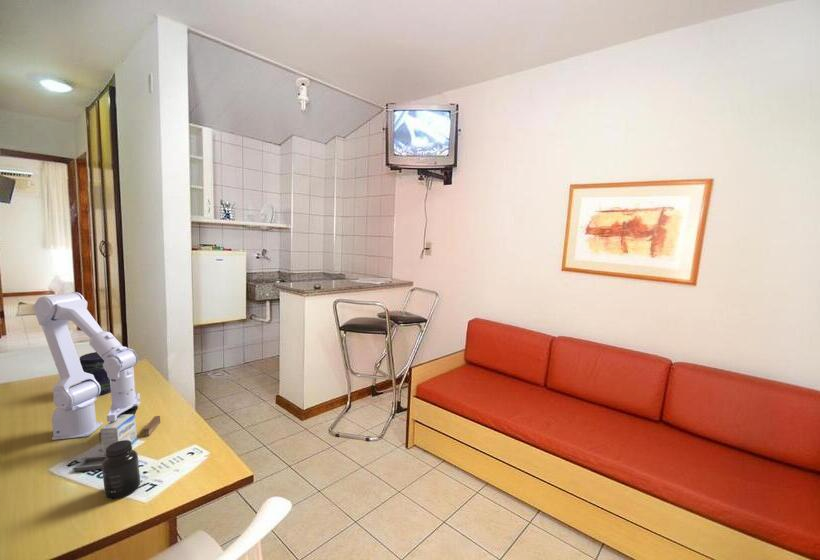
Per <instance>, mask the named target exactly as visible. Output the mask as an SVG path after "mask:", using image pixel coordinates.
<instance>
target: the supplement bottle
mask: <svg viewBox="0 0 820 560" xmlns="http://www.w3.org/2000/svg"><path fill="white" fill-rule="evenodd" d="M106 457H107V458H105V460H104V461H103V463H102V469H101V471H102V480H103V490H104V495H105V497H106V498H107V499H109V500H117V499H118V500H119V499H123V498H124V497H125V498H126V497H128V496H129V495H131V494H133V493H134V492H135V491H137V490H138V488H139V487H140V485H141V475H140V474H141V473H140V465H139V456H138V453H137V451H136V450H135V449H133V445H131V441H129V440H122V441H118V442H115V443H113V444H111V445H109V446H108V447H107V448H106Z"/></svg>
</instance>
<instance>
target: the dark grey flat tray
mask: <svg viewBox="0 0 820 560" xmlns="http://www.w3.org/2000/svg"><path fill="white" fill-rule="evenodd" d="M105 458H107V457H106V456H103V455H100V456H98V455H97V456H90V457H89V456H88V457H84V458H83V459H82V460H81V461H79V463H78V464H77V465H76V466H75V467H74V473H80V472H79V471H82V472H90V471H89V470H91V471H95V470H94V469H100V470H102V463H103V461H104V460H105Z"/></svg>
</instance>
